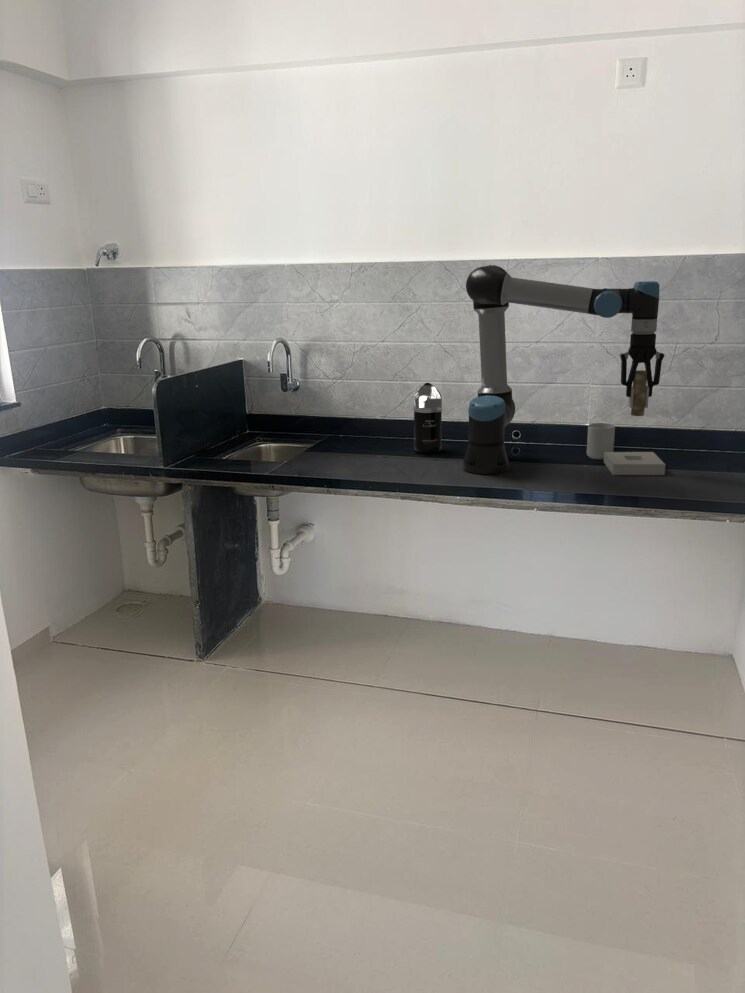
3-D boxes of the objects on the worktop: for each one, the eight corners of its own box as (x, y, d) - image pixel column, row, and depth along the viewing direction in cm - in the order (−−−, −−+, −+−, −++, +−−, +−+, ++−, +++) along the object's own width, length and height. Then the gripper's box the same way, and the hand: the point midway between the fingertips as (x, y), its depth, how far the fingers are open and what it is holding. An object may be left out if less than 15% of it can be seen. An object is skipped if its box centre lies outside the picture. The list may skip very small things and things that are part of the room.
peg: (632, 416, 249) (635, 372, 245) (629, 413, 253) (632, 370, 249) (645, 416, 249) (648, 372, 245) (642, 413, 253) (645, 370, 248)
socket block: (612, 474, 250) (613, 464, 248) (603, 461, 265) (604, 451, 264) (664, 475, 248) (665, 464, 247) (652, 462, 263) (653, 451, 262)
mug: (613, 461, 266) (615, 428, 262) (586, 459, 268) (588, 428, 265) (612, 452, 277) (614, 421, 273) (586, 451, 279) (588, 420, 276)
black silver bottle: (411, 448, 289) (411, 381, 282) (439, 447, 290) (439, 379, 283) (416, 455, 280) (415, 385, 272) (444, 453, 281) (444, 384, 273)
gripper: (617, 334, 241) (613, 409, 247) (675, 333, 239) (668, 409, 246) (613, 332, 248) (608, 405, 255) (668, 331, 246) (662, 404, 253)
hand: (638, 406), depth 250 cm, fingers closed on peg, 4 cm apart
